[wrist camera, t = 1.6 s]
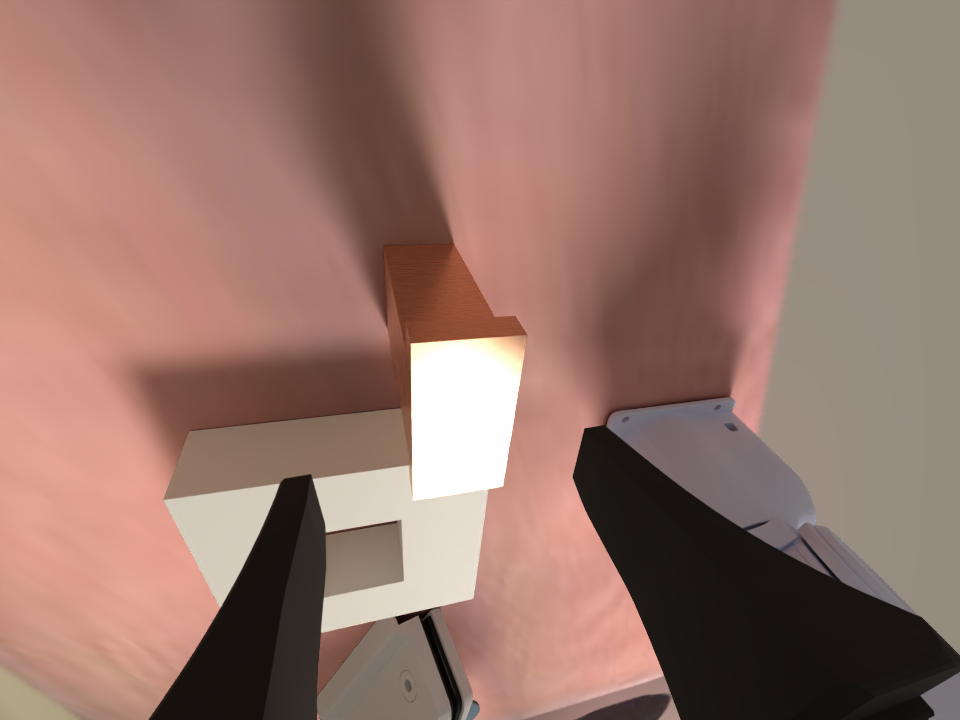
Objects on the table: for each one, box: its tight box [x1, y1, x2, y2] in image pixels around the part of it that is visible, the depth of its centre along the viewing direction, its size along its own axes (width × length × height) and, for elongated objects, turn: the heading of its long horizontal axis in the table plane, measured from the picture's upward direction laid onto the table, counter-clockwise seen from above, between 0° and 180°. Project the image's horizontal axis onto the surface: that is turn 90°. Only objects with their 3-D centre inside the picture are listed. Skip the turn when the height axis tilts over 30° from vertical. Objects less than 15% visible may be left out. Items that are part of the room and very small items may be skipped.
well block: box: [163, 408, 488, 633], centre depth 25 cm, size 14×14×4 cm
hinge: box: [317, 608, 473, 720], centre depth 37 cm, size 17×5×10 cm, turn 149°
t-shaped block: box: [383, 244, 527, 501], centre depth 16 cm, size 3×6×9 cm, turn 175°
